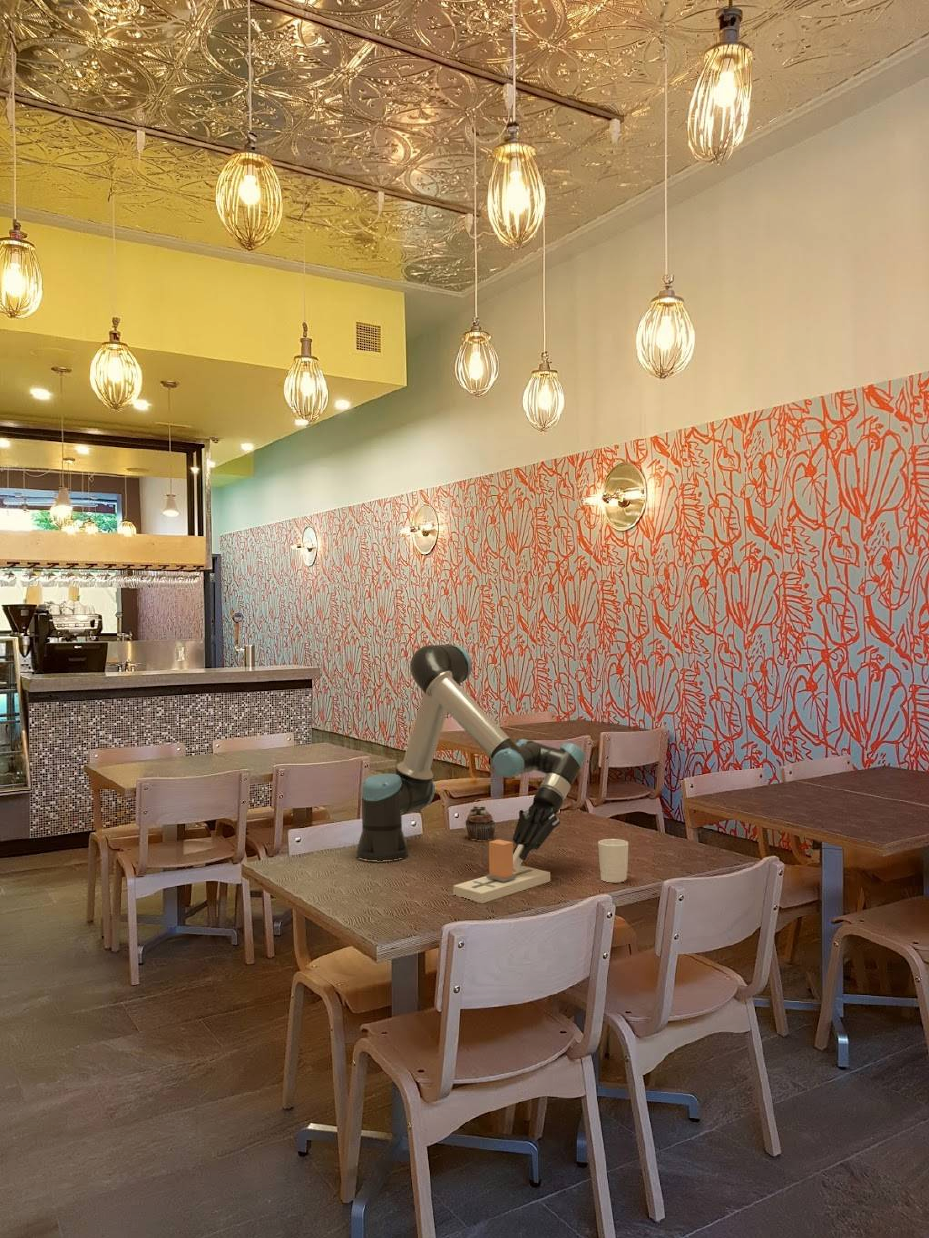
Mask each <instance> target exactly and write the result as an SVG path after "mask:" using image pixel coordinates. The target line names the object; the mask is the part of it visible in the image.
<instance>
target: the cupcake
mask: <svg viewBox="0 0 929 1238" xmlns="http://www.w3.org/2000/svg"><path fill="white" fill-rule="evenodd" d="M466 817H467V818H466V820H465V823H464V824H465V828H466V832H467V835H468V836H467V837H468V839H469V838H470V839H476V840H488V839H492V840H493V839H494V836H495V829H496V825H497V824H496V822H495V820H493V816H492V815H491V813H490V812H489V810H488V809H486V807H485V806H481V807H478V806H476V805H475V806H473V807H472V809H470V811H469V813H468V815H467V816H466ZM470 839H469V840H470Z"/></svg>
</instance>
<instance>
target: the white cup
mask: <svg viewBox="0 0 929 1238" xmlns="http://www.w3.org/2000/svg"><path fill="white" fill-rule="evenodd" d="M597 848H598V861H599V870H600V872H599V873H600V881H601V880H603V881H606V882H621V881H624V880H626V879H628V878H627V877H628V867H629V865H628V864H629V862H628V861H629V841H627V840H626V839H625V840H623V839H617V838H605V839H601V840H598V842H597ZM603 881H602V882H603ZM606 882H605V883H606Z"/></svg>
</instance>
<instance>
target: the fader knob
mask: <svg viewBox="0 0 929 1238" xmlns="http://www.w3.org/2000/svg"><path fill="white" fill-rule="evenodd" d="M513 842H514V841H509V840H502V839H496V840H489V842H488V863H489V864H488V866H489V867H488V868H489V869H488V870H489V873H488V874H486V875H485V876H486V878H490V879H494V880H498V881H502V882H505V881H508V880H511V879H514V878H517V875H513V851H514V843H513Z"/></svg>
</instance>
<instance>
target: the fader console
mask: <svg viewBox="0 0 929 1238" xmlns="http://www.w3.org/2000/svg"><path fill="white" fill-rule="evenodd" d="M513 875H517V878H514V879H511V880H508V881H505V882H502V881H498V880H494V879H490V878H486V875H485V876H482V877H478V878H475V879H472V880H467V881H465V882H460V883H457V884H453V885H452V888H453V889H452V891H453V892H452V893H453V894H452V895H453V896H454V895H456V896H455V897H457V896H458V898H461V897H464V898H463V899H465V898H467V899H466V900H468V899H470V900H469V901H472V900H473V901H472V902H476V903H479V904H484V903H488V902H491V901H494V900H497V899H500V898H504V897H506V896H510V895H512V894H515V893H518V892H521V891H524V890H528V889H531V888H534V887H537V886H540V885H544V884H546V883H549V882H551V871H547V870H542V869H540V868H539V869H538V868H534V867H529V866H526V865H520V867H519V869H518V871H517V872H514V871H513Z"/></svg>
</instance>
